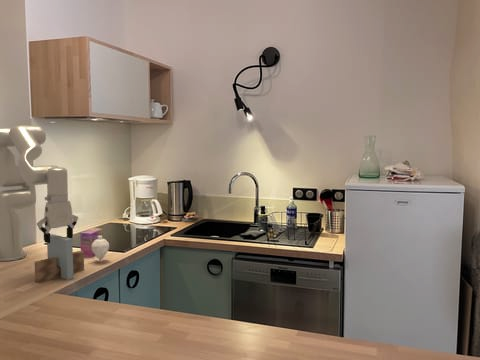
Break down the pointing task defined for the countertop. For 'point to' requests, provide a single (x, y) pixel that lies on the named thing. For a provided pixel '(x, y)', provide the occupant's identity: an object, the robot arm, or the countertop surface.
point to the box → (89, 241)
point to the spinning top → (100, 247)
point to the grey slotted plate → (62, 254)
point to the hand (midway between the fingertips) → (58, 240)
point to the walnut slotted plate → (56, 267)
